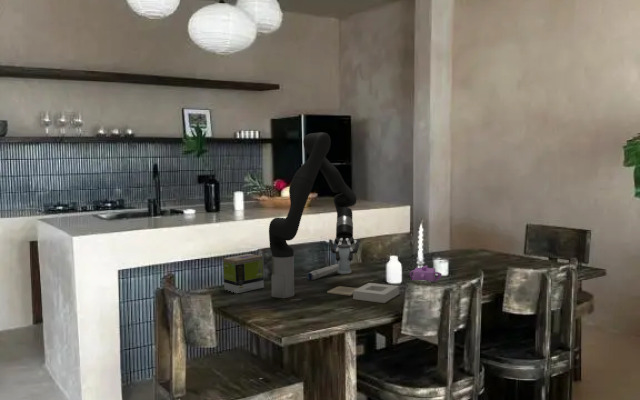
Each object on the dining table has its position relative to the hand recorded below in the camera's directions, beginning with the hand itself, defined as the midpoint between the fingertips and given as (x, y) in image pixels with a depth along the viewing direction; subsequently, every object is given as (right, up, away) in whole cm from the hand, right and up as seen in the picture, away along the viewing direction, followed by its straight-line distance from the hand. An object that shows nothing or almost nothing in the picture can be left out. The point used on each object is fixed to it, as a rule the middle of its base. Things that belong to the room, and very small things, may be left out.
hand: (344, 260), depth 260 cm
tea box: (-44, -14, +9) cm, 47 cm away
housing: (+13, -15, -6) cm, 21 cm away
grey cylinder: (-6, -12, +34) cm, 36 cm away
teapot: (+36, -14, +6) cm, 39 cm away
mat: (0, -14, +3) cm, 14 cm away
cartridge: (0, -5, +2) cm, 6 cm away
